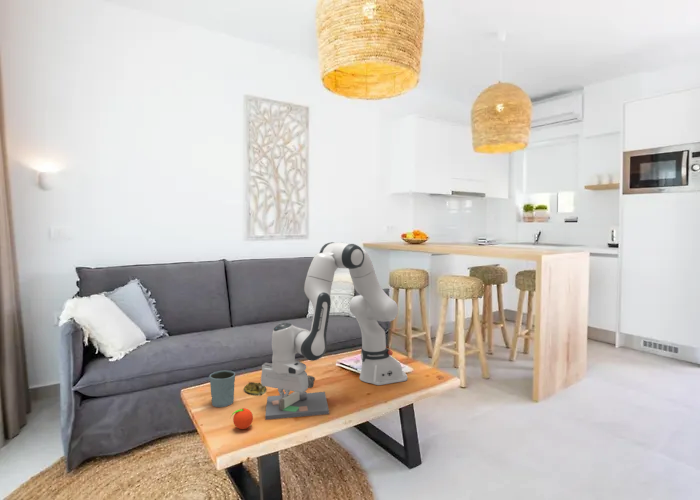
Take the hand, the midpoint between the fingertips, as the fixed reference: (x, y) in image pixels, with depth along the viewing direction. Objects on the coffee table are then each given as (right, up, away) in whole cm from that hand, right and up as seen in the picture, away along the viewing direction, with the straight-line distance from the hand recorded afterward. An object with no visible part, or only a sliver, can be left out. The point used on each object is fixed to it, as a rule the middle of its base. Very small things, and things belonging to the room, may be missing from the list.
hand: (284, 399), depth 162 cm
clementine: (-13, -5, -15) cm, 20 cm away
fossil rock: (+1, -3, +26) cm, 26 cm away
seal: (-16, -4, +20) cm, 26 cm away
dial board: (+5, -4, +2) cm, 6 cm away
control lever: (+3, -2, +1) cm, 4 cm away
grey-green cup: (-26, -4, +7) cm, 28 cm away
